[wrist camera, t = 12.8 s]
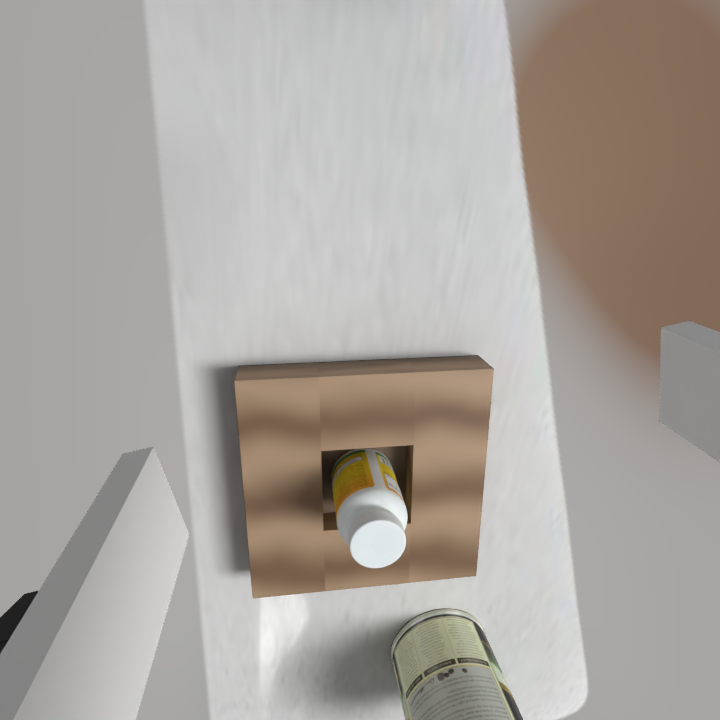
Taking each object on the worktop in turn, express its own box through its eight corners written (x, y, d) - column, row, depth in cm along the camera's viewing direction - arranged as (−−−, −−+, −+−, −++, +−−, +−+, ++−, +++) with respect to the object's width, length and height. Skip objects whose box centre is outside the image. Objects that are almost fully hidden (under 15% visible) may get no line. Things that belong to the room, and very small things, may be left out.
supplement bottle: (398, 450, 44) (426, 517, 35) (382, 503, 45) (405, 580, 36) (338, 440, 43) (350, 506, 34) (323, 494, 44) (332, 572, 35)
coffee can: (504, 633, 53) (576, 778, 40) (441, 697, 55) (490, 856, 42) (434, 591, 50) (485, 733, 37) (369, 660, 52) (397, 819, 39)
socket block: (238, 365, 41) (234, 380, 37) (478, 355, 43) (493, 368, 40) (255, 569, 47) (252, 598, 44) (463, 550, 49) (476, 575, 46)
